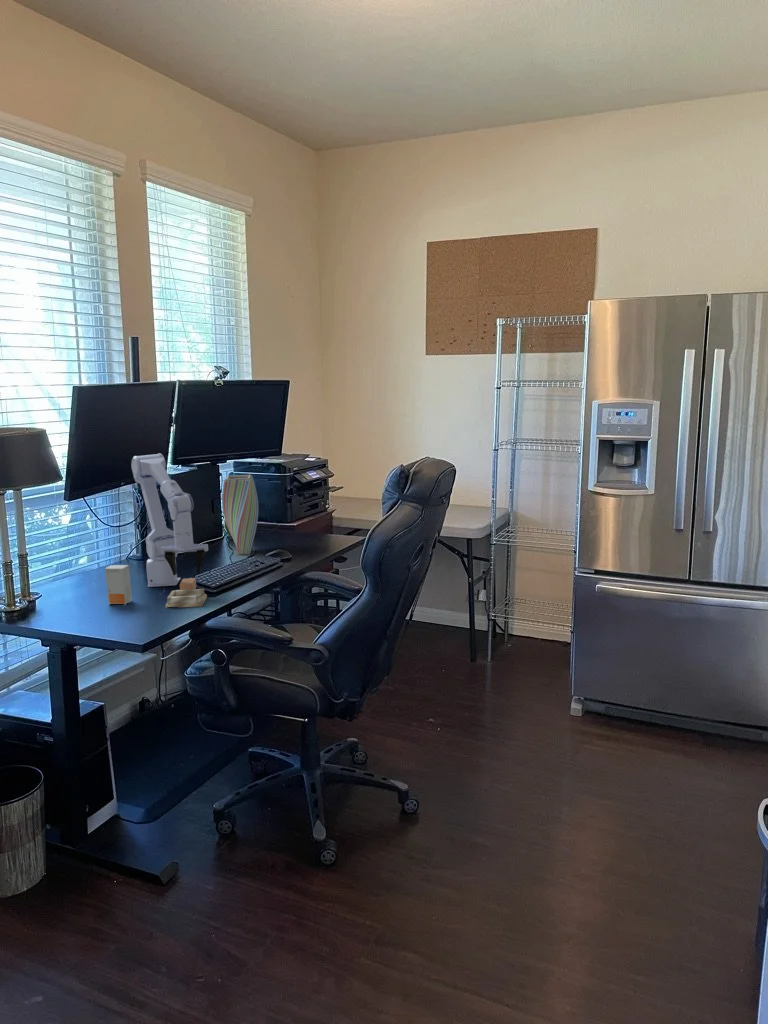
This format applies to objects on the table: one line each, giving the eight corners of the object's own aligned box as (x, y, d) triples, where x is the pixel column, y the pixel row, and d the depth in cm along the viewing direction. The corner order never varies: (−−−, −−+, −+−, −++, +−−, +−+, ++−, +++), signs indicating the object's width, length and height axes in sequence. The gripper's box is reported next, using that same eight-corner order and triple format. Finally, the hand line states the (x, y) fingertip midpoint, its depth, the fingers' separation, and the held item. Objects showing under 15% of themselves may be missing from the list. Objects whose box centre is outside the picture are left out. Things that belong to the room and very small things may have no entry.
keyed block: (180, 597, 238) (179, 584, 237) (184, 591, 244) (183, 578, 243) (193, 596, 238) (192, 583, 238) (196, 591, 244) (195, 578, 243)
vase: (225, 558, 285) (218, 480, 279) (227, 549, 298) (221, 475, 292) (260, 555, 286) (255, 478, 280) (262, 547, 299) (256, 473, 293)
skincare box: (108, 605, 233) (104, 568, 230) (114, 601, 237) (110, 564, 234) (126, 605, 232) (122, 568, 229) (133, 601, 236) (129, 564, 233)
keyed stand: (165, 608, 228) (164, 598, 227) (171, 599, 237) (170, 589, 236) (202, 606, 228) (201, 596, 228) (206, 597, 237) (206, 588, 237)
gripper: (157, 536, 233) (161, 578, 236) (204, 534, 234) (207, 575, 236) (162, 531, 240) (166, 572, 242) (207, 529, 241) (211, 569, 243)
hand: (187, 573), depth 240 cm, fingers open, 7 cm apart
